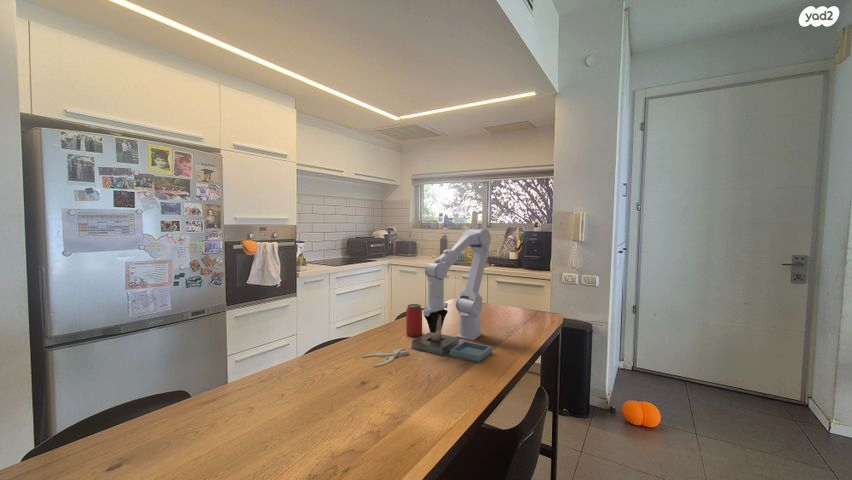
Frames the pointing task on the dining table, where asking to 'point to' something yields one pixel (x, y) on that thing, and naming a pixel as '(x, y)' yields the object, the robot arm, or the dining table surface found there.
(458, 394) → the dining table surface
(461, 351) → the slate tray
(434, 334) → the birch peg
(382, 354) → the pliers
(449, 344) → the hitch block
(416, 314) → the beer can
